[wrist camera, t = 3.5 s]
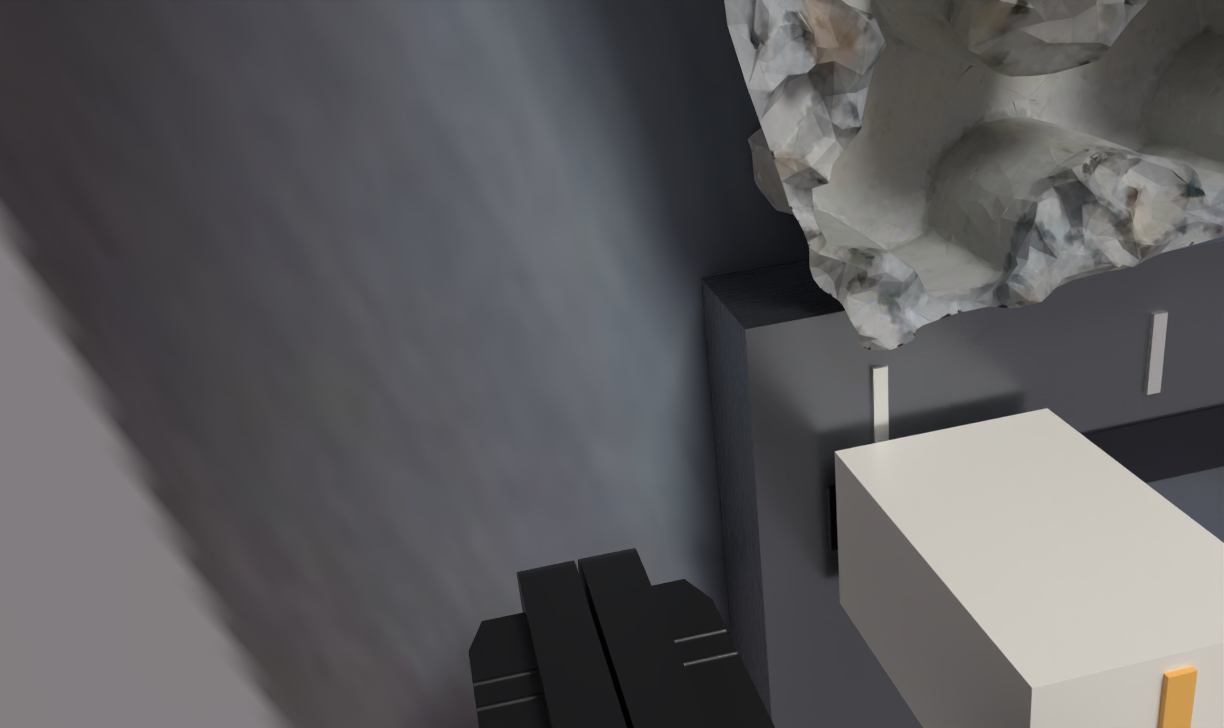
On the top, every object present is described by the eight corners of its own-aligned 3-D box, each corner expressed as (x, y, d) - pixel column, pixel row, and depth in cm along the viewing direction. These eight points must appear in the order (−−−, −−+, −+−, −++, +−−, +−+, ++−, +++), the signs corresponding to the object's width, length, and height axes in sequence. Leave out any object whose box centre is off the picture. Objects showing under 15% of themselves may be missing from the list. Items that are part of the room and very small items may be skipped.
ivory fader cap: (834, 451, 15) (1036, 692, 10) (1047, 408, 15) (1328, 622, 11) (840, 602, 16) (1025, 882, 11) (1039, 558, 16) (1294, 812, 12)
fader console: (701, 278, 16) (747, 331, 14) (1418, 151, 17) (1545, 183, 16) (744, 788, 20) (784, 882, 18) (1327, 646, 21) (1420, 719, 19)
